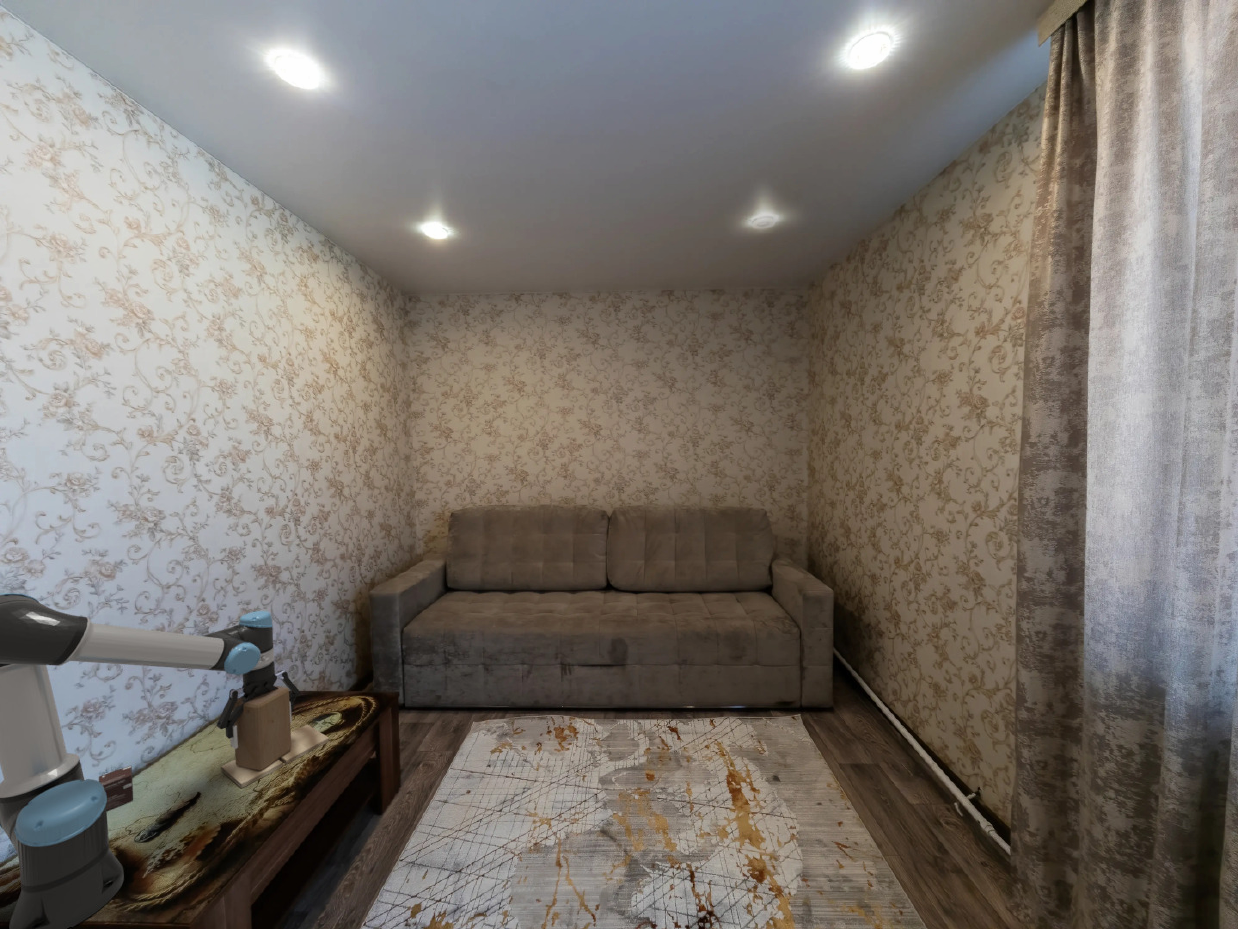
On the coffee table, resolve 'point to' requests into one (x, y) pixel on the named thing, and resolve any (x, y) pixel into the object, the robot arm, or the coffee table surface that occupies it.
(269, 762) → the wooden block
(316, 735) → the laid boards
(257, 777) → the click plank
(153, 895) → the coffee table surface
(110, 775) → the box
